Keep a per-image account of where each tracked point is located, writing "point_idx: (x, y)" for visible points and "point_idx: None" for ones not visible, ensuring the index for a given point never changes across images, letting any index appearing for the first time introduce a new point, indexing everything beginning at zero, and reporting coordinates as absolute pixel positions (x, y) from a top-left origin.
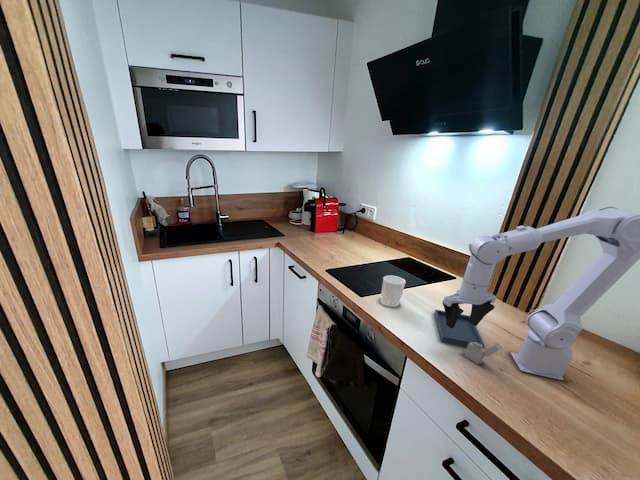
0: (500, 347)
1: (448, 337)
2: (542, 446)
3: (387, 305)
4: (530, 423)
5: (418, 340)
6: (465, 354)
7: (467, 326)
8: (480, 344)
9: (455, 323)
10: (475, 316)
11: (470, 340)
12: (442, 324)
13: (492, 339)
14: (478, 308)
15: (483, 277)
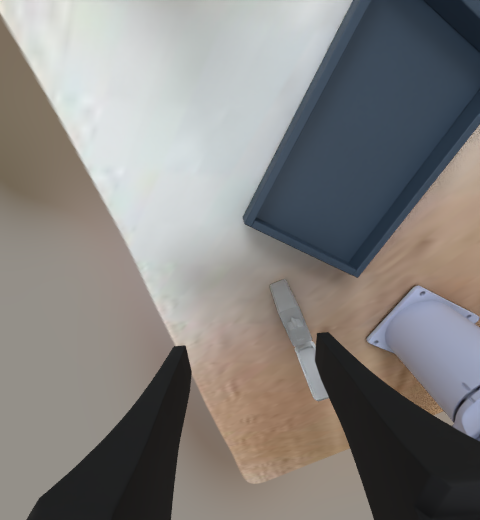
0: (326, 398)
1: (263, 231)
2: (236, 444)
3: None
4: (253, 423)
5: (158, 202)
6: (271, 290)
7: (433, 129)
8: (305, 336)
9: (184, 409)
10: (338, 395)
11: (351, 225)
12: (331, 98)
13: (441, 216)
14: (374, 466)
15: None
